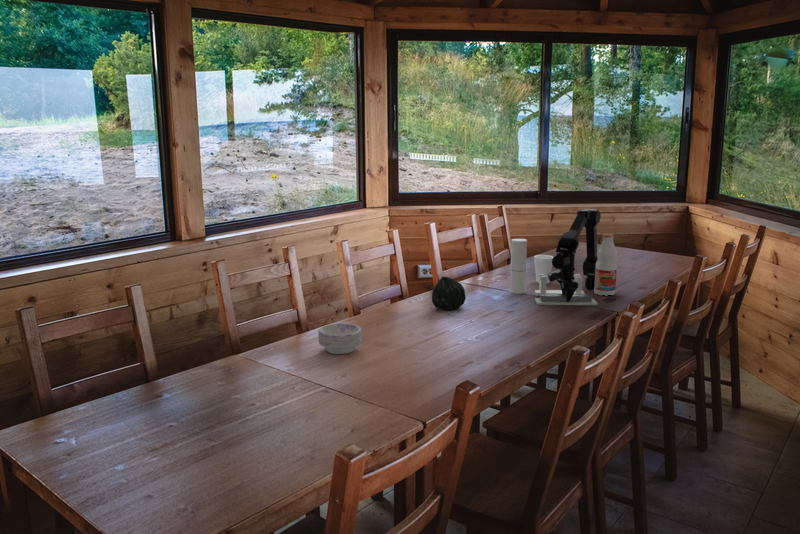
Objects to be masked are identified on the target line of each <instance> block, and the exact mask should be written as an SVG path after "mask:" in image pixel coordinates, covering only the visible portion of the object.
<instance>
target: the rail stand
mask: <svg viewBox="0 0 800 534" xmlns="http://www.w3.org/2000/svg"><path fill="white" fill-rule="evenodd" d="M574 277H575V281H576V282H577V283H578V288H577V290H576V291H575V292H574V294H573V295H586V293H585V292H584V290H582V284H583V276H581V274H580V273H576V274H575V273H574ZM538 284H539V285H538V289H535V290H534V294H535V293H536V294H535V295H536V297H540V294H562V291H561V289H560V290H559V289H547V284H548V283H547V277H545V274H540V275H539V283H538Z"/></svg>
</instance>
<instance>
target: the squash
mask: <svg viewBox="0 0 800 534" xmlns="http://www.w3.org/2000/svg"><path fill="white" fill-rule="evenodd" d="M466 298H467V297H466V290H465V288H464V286H463V284H462V283H460V282H459V281H456V280H455V279H454V278H453V279H452V278H451V277H449V276H441V278H440V279H439V281H438V282H437V283H436V284H434V287H433V289H432V292H431V301H432V305H433V306H434V307H435V308H437V309H440V310H442V311H443V310H447V311H452V310H453V311H454V310H459V308H460V307H461V306H464V304H465V301H466Z"/></svg>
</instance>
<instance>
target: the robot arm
mask: <svg viewBox="0 0 800 534" xmlns="http://www.w3.org/2000/svg"><path fill="white" fill-rule="evenodd" d="M601 215H602V213H601V211H599V210H598V209H589V208H584V209H578V210H577V211H576V216H575V218H574V220H573V222H572V224H571V226H570V227H569V230H568V231H566V232H564V233H563V234H562V236H561V237H560V238H559V240H558V243H557V246H556V248H555V253H556V254H555V256H553V259H552V267H553V268H555V269H556V270H553V271H552V270H551V272H549V273H547V276H548V279H549V283H552V282H554V281H557V283H559V284H560V290H561V291H562V294H566V301H567V302H569V301H570V300H571V298H572V296H573V294H574V292H575V291H576V290H577V288H578V283H577V282H576V281H575V277H574V274H575V271H576V268H575V257H576V253H577V249H578V248H579V245H580V241H579V237H580V234H581V232H582V231H583V229H584V228H585V240H586V241H585V243H586V246H585V247H586V257H585V259H584V260H583V262H582V274H583V275H582V276H585V278H584V287H585V289H587V290H594V285H595V268H596V262H597V250H598V239H597V238H598V237H597V236H598V233H597V230H598V229H597V227H598V225H599V224H600V221H601Z"/></svg>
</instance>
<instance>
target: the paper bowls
mask: <svg viewBox="0 0 800 534" xmlns="http://www.w3.org/2000/svg"><path fill="white" fill-rule="evenodd" d="M317 331H318V344H319V345H320V346H321V347H324V349H325V351H326V352H327V353H330V354H332V355H333V354H334V355H345V354H350V353H353V352H354V351H355V350H356V348H357V346H360V345H361V344H362V342H363V337H362V335H363V334H362V333H363V332H362V327H361V326H359V325H357V324H353V323H345V322H344V323H329V324H326V325H323V326H321V327H320V328H319V329H318V330H317Z"/></svg>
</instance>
